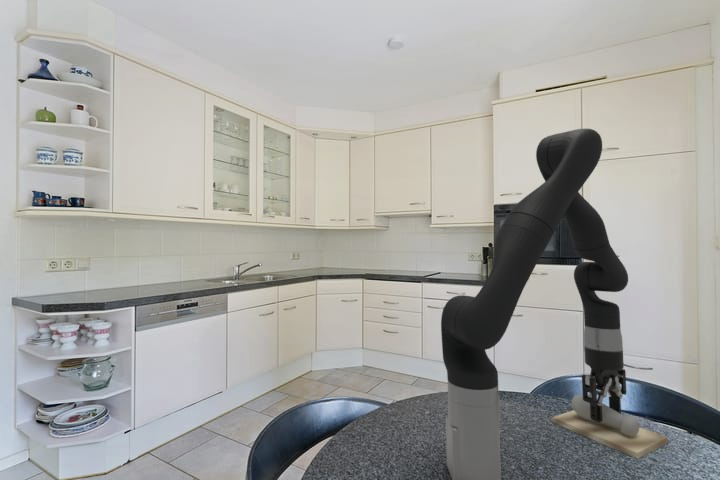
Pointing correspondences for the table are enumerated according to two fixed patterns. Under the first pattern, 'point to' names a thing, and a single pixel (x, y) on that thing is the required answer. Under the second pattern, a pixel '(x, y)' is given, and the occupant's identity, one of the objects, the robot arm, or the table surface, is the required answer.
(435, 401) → the table surface
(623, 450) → the birch board
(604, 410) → the salt shaker
